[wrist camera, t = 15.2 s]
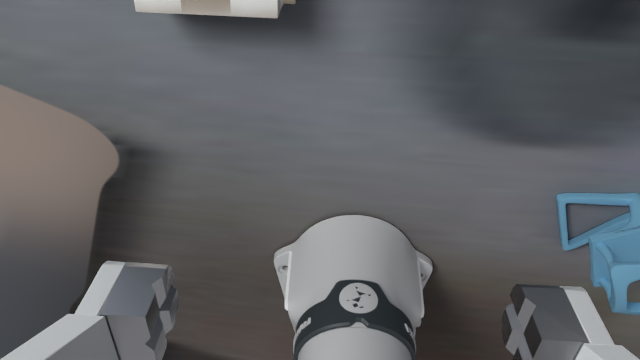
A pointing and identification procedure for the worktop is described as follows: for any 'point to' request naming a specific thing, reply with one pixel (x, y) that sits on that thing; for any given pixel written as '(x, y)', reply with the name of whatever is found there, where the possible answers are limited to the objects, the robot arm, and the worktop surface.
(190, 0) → the board
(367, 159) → the worktop surface
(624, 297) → the chair
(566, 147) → the worktop surface
